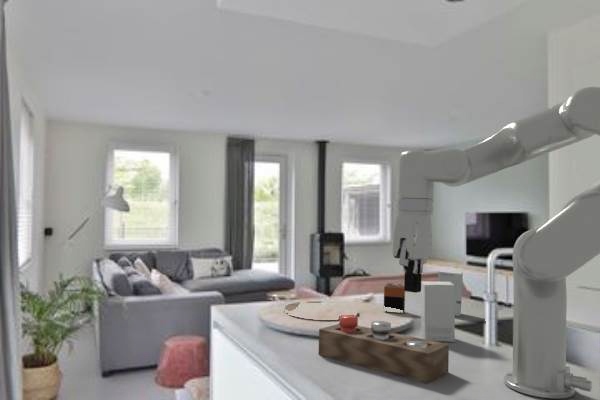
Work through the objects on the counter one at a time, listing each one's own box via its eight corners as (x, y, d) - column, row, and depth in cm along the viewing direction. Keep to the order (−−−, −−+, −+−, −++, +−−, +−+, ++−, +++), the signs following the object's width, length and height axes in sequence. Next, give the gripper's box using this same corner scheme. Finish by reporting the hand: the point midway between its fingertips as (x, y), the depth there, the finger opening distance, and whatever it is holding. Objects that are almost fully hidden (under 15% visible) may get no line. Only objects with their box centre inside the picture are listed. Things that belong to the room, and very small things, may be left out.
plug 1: (393, 346, 108) (394, 323, 109) (383, 350, 105) (384, 326, 105) (377, 342, 111) (377, 320, 111) (367, 346, 108) (367, 322, 108)
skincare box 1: (450, 336, 134) (451, 281, 134) (455, 343, 127) (456, 284, 128) (419, 335, 134) (420, 280, 135) (423, 341, 128) (424, 283, 128)
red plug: (360, 339, 114) (361, 316, 114) (350, 342, 111) (350, 319, 111) (345, 335, 117) (346, 314, 117) (335, 338, 114) (335, 316, 114)
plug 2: (430, 368, 102) (431, 343, 103) (421, 372, 99) (421, 347, 99) (412, 363, 105) (412, 339, 106) (402, 368, 102) (402, 343, 102)
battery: (385, 310, 170) (386, 282, 170) (404, 311, 168) (405, 283, 168) (383, 312, 166) (384, 283, 166) (403, 314, 163) (403, 285, 164)
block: (448, 372, 103) (448, 344, 103) (427, 383, 95) (428, 353, 95) (342, 346, 121) (343, 322, 121) (318, 354, 113) (319, 329, 114)
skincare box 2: (436, 314, 164) (437, 271, 165) (437, 311, 170) (438, 269, 171) (461, 316, 162) (462, 273, 162) (462, 313, 167) (462, 271, 168)
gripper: (415, 208, 112) (412, 286, 112) (382, 205, 101) (379, 292, 100) (445, 208, 107) (443, 290, 107) (415, 206, 96) (412, 297, 95)
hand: (412, 291), depth 103 cm, fingers closed
